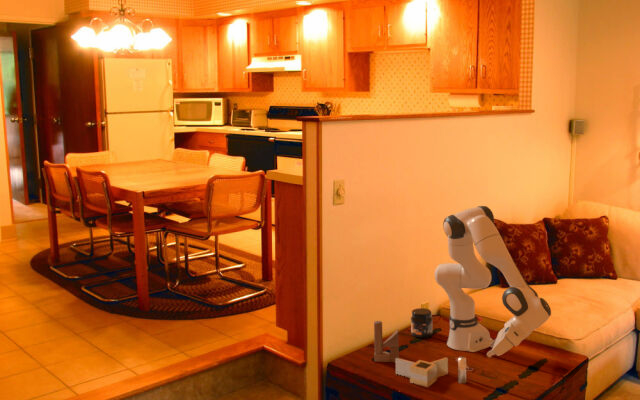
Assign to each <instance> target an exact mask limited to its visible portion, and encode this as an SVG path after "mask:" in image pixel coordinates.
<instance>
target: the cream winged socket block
mask: <svg viewBox="0 0 640 400" xmlns="http://www.w3.org/2000/svg"><path fill="white" fill-rule="evenodd" d="M448 361H449V359H448V357H447V356H446V357H442V358H440V359H437V360H433V361H430V362H429V361H426V360H421V359H418V360H417V361H416V362H414V361H410V360H406V359H404V358H395V362H394V363H395V375H397V374H398V376H400V375H401V377H404V376H405V377H404V378H408V379H409V383H410V384H413V383H414V385H417V386H422V387H424V388H429V387H430V386H432V385H433V384H434V383H435V382H437V380H438V378H439V377H442V376H445V375H448V373H449V362H448Z"/></svg>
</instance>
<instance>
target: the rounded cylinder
mask: <svg viewBox="0 0 640 400" xmlns="http://www.w3.org/2000/svg"><path fill="white" fill-rule="evenodd" d="M457 358H458V360H457V364H458V365H457V382H458V383H459V384H466V383H467V371H466V370H467V369H466V364H467V358H466V357H464V356H461V357H460V356H458V357H457Z"/></svg>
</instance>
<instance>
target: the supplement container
mask: <svg viewBox="0 0 640 400" xmlns="http://www.w3.org/2000/svg"><path fill="white" fill-rule="evenodd" d="M410 323H411V324H410V327H411V329H410V334H411V335H412V337H414V338H419V339H425V338H429V337H432V335H433V316H432V311H431V309H428V308H424V307H423V308H422V307H419V308H415V309H412V310H411V316H410Z"/></svg>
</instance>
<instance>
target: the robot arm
mask: <svg viewBox="0 0 640 400" xmlns="http://www.w3.org/2000/svg"><path fill="white" fill-rule="evenodd" d="M494 223H495V216H494V213H493V211H492V210H491V208H489V207H488V206H487V205H479V206H476V207H472V208H467V209H464V210H461V211H459V212H455V213H454V214H451V215H448V216H446V217H445V218H444V220H443V223H442V226H443V231H444V234H445V235H446V236H447V249H448V256H449V257H450V259H451V260H453V261H454V262H456V263H454V262H453V263H452V262H448V263H440V264H438V265H437V266H436V268H435V270H434V273H433V274H434V275H433V276H434V280H435V282H436V283H437V285H439V286H440V287H441V288H442V289H443V291H445V293H446V295H447V296H448V300H449V310H450V315H449V319H448V320H449V323H448V324H449V334H448V338H447V341H446V345H447V346H448V348H450V349H453V350H456V351H461V352H462V351H464V352H470V353H475V352H476V353H477V352H479V351H481V350H486V349H487V348H489V347H490V348H492V349H490V350H488V351H487V353H486V356H487V357H488V358H491V357H493V356H495V355H496V356H497V357H499V356H502V355H503V354H505V353H507V352H509V351H510V350H511V349H512V348H514V346H515V347H517V346H519V345H520V344H521V343H522V341H524V340H525V339H526V338H527V337H529V336H530V335H531V334H532V332H533V331H534V330H537V329H539V328H540V327H542V325H543V324H545V323H546V322H547V321H548V320H549V319H550V317H551V316H552V310H551V307H550V305H549V303H548V302H547V300H546V299H544V298H543V297H539V295H538V292H536V290H535V289H534V288H532V287H531V286H530V285H529V284H528V283H527V282H526V280H525V278H524V276H523V274H522V273H521V271H520V269H519V268H518V266H517V264H516V263H515V261H514V259H513V257H512V256H511V254H510V252H509V250H508V248H507V246H506V244H505V242H504V240H503V236H501V234H500V232H499V230H498V229H497V227H496V225H495V224H494ZM474 246H475V249H476V251H477V253H478V255H480V257H481V259H482V260H483V261H485V262H486V263H488V264H490V265H492V266H493V267H495V268H497V269H498V270H499V271H500V272H501V273H502V275H503V276H504V278H505V280H506V282H507V284H508V285H509V287H508V288H507V289H505V290H504V292H503V294H502V297H501V300H502V305H503V306H504V307H505V308H506V310H508V311H509V312H510V313H511V314H513V316H512V317H511V318H510V319H509V320H508V321H506V322H505V323H504V325H503V326H504V327H503V328H502V329H500V331H498V333H497V336H496V338H495V339H493V338H492V337H491V335H490V331H489V330H488V329H487V328H486V327H485V326H483V325H482V324H480V323H481V322H482V321H483V318H482V317H481V316H477V315H475V310H476V309H475V308H476V307H475V306H476V305H475V304H476V302H475V300H474V298H473V297H472V296H470V295H469V294H468V293H466V292H465V291H464V290H463V289H469V290H471V289H472V290H479V289H487V288H488V287H489V285H490V284H491V282H492V273H491V270H490V269H489V268H488V267H487V266H486V265H484V264H483V263H481V262H480V260H479V258H477V256H476V253H475V249H474Z"/></svg>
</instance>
